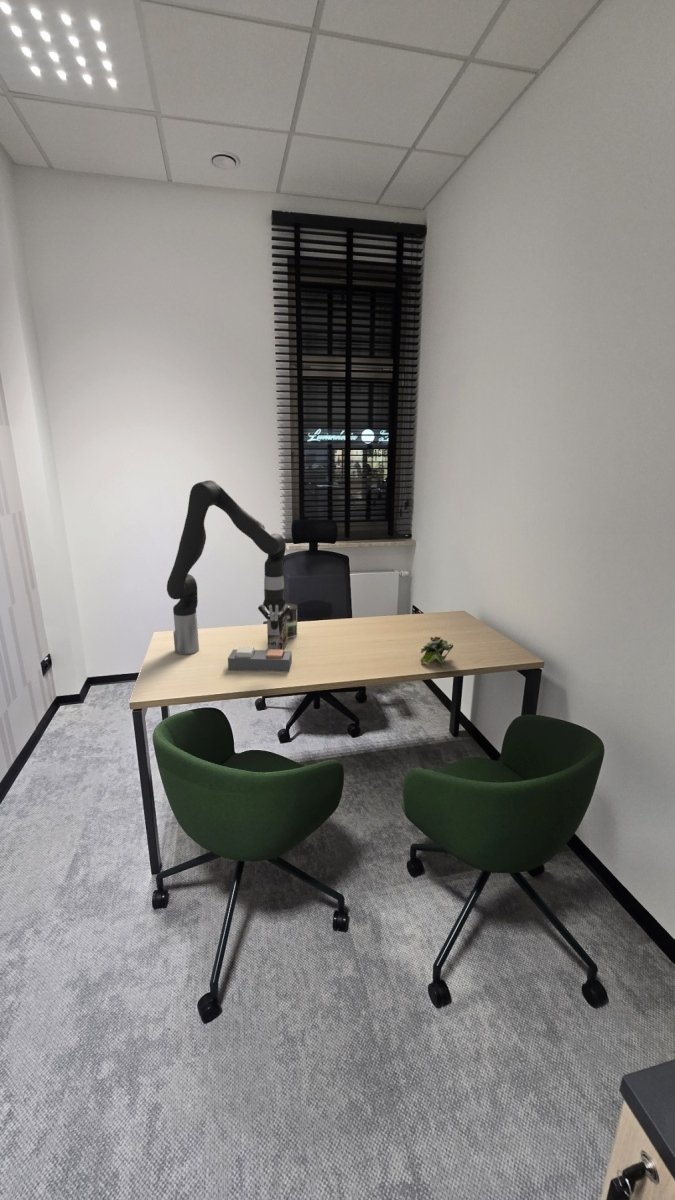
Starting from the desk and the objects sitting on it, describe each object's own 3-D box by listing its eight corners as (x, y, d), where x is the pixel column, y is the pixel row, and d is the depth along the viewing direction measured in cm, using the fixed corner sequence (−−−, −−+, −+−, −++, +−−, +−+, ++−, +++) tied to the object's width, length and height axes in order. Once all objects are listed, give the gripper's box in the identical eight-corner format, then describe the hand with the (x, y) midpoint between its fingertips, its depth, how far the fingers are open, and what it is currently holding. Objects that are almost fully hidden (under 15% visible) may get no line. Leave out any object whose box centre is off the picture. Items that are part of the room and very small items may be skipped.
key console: (228, 670, 190) (227, 658, 188) (233, 660, 198) (233, 649, 197) (289, 671, 189) (289, 659, 188) (291, 662, 198) (291, 650, 197)
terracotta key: (266, 662, 190) (266, 655, 189) (269, 656, 196) (269, 649, 195) (281, 662, 190) (281, 655, 189) (283, 656, 196) (283, 649, 195)
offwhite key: (236, 659, 190) (236, 652, 189) (239, 653, 196) (239, 646, 195) (251, 659, 190) (251, 652, 189) (254, 653, 196) (254, 646, 195)
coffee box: (281, 652, 208) (280, 616, 203) (267, 650, 209) (266, 615, 205) (287, 644, 217) (287, 610, 212) (274, 643, 218) (273, 609, 213)
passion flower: (432, 671, 206) (447, 643, 207) (448, 678, 195) (464, 649, 196) (410, 657, 202) (426, 629, 203) (425, 663, 191) (441, 634, 192)
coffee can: (292, 639, 222) (292, 610, 218) (272, 637, 225) (271, 608, 221) (300, 632, 232) (300, 604, 228) (281, 629, 234) (280, 602, 230)
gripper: (255, 588, 181) (256, 632, 186) (290, 589, 181) (290, 633, 186) (258, 583, 188) (259, 625, 193) (292, 584, 188) (292, 626, 193)
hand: (274, 629), depth 189 cm, fingers closed
